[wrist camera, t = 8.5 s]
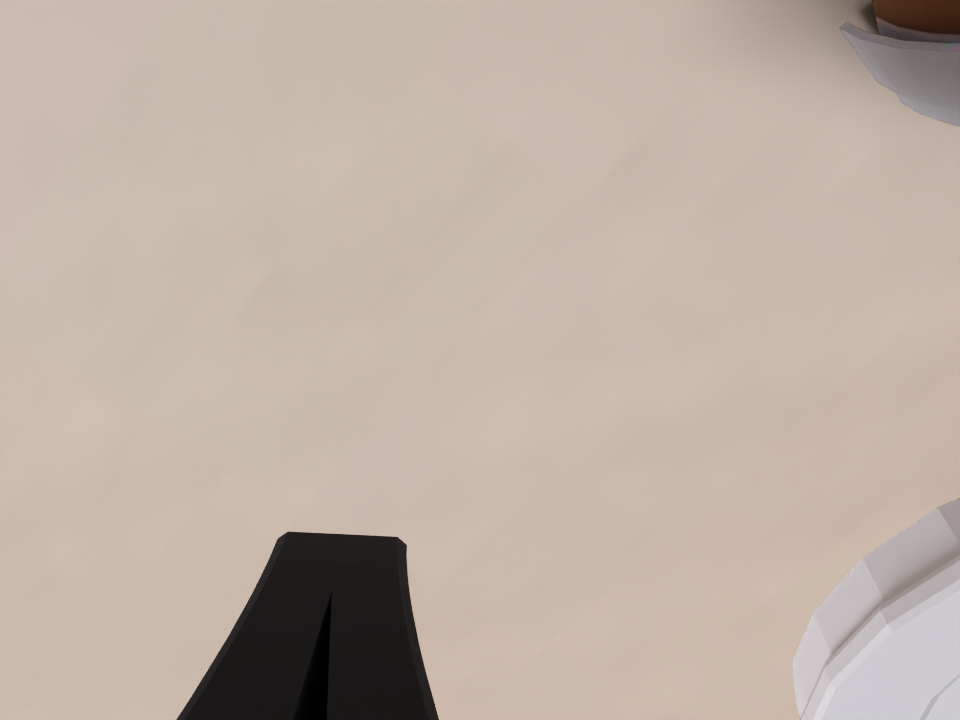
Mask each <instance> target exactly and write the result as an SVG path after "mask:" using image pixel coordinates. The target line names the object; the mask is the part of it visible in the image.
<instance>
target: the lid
mask: <svg viewBox="0 0 960 720" xmlns="http://www.w3.org/2000/svg"><path fill="white" fill-rule="evenodd" d="M792 666H793V676H794V686H795V695H796V705H797V710H798V712H799V715H800V718H801V720H960V498H959V499H956V500H954V501H952V502H949V503H947V504H945V505H942V506H940V507H937V508H936V509H934V510H933V511H931V512H930V513H928V514H927V515H925V516H924V517H922V518H921V519H920V520H918V521H917V522H915V523H914V524H912V525H911V526H909V527H908V528H906V529H905V530H903V531H902V532H900V533H899V534H897V535H896V536H894V537H893V538H891V539H890V540H888V541H887V542H885V543H884V544H882V545H881V546H879V547H878V548H877V549H875V550H874V551H872V552H871V553H869V554H868V555H866V556H865V557H863V558H862V559H861V560H860V561H859V562H858V563H857V565H856V566H855V567H854V568H853V569H852V570H851V571H850V572H849V573H848V575H847V576H846V577H845V578H844V579H843V580H842V581H841V582H840V583H839V584H838V586H837V587H836V588H835V589H834V590H833V591H832V592H831V593H830V594H829V596H828V597H827V598H826V599H825V600H824V601H823V602H822V603H821V604H820V605H819V607H818V608H817V609H816V610H815V611H814V612H813V615H812V617H811V619H810V622H809V624H808V627H807V629H806V631H805V634H804V636H803V639H802V641H801V644H800V646H799V648H798V651H797V653H796V656H795V658H794V660H793V663H792Z"/></svg>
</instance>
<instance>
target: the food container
mask: <svg viewBox="0 0 960 720" xmlns="http://www.w3.org/2000/svg"><path fill="white" fill-rule="evenodd" d="M872 3H873V7H874V12H875V16H876V20H877V24H878V29H879V33H880V35H876V34H872V33H868V32H866V31H864V30H862V29H860V28H858V27H856V26H854V25H852V24H849V23H847V22H846V23H845V24H844V25H842V26H841V27H840V30H841V31H842V33H843V34H844V36H845V37H846V38H847V40H848V41H849V43H850V44H851V46H852V47H853V48H854V50H855V51H856V53H857V54H858V55H859V57H860V58H861V60H862V61H863V63H864V64H865V65H866V67H867V68H868V70H869V71H870V72H871V74H872V75H873V77H874V78H875V80H876V81H877V82H878V83H880V84H881V85H883V86H885V87H887V88H888V89H890V90H892V91H894V92H895V93H897V95H898V97H899V100H900V102H901V103H903V104H905V105H906V106H908V107H910V108H911V109H913V110H915V111H917V112H918V113H920V114H922V115H924V116H927V117H930V118H933V119H936V120H939V121H942V122H945V123H948V124H951V125H954V126H959V127H960V0H872Z"/></svg>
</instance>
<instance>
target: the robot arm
mask: <svg viewBox="0 0 960 720" xmlns="http://www.w3.org/2000/svg"><path fill="white" fill-rule="evenodd" d="M406 551H407V545H406V544H405V543H404V542H403V541H401V540H400V539H399V538H398V537H387V536H366V535H345V534H324V533H303V532H287V533H285V534H284V535H282V536H281V537H280V538H278V540H277V542H276V544H275V547H274V549H273V551H272V554H271V556H270V558H269V561H268V563H267V565H266V567H265V569H264V571H263V573H262V575H261V577H260V579H259V581H258V583H257V585H256V587H255V589H254V591H253V593H252V595H251V597H250V599H249V601H248V602H247V604H246V606H245V608H244V610H243V612H242V613H241V615H240V617H239V619H238V620H237V622H236V624H235V626H234V628H233V629H232V631H231V633H230V635H229V636H228V638H227V640H226V642H225V643H224V645H223V646H222V648H221V650H220V651H219V653H218V655H217V656H216V658H215V659H214V661H213V663H212V664H211V666H210V668H209V669H208V671H207V672H206V674H205V676H204V677H203V679H202V681H201V682H200V684H199V685H198V687H197V689H196V690H195V692H194V694H193V695H192V697H191V698H190V700H189V701H188V703H187V705H186V706H185V708H184V709H183V711H182V712H181V714H180V715H179V717H178V718H177V720H439V718H438V715H437V711H436V708H435V704H434V700H433V697H432V693H431V690H430V686H429V682H428V679H427V675H426V672H425V668H424V664H423V659H422V655H421V651H420V647H419V642H418V637H417V632H416V627H415V622H414V617H413V612H412V606H411V599H410V593H409V585H408V574H407V559H406Z"/></svg>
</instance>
